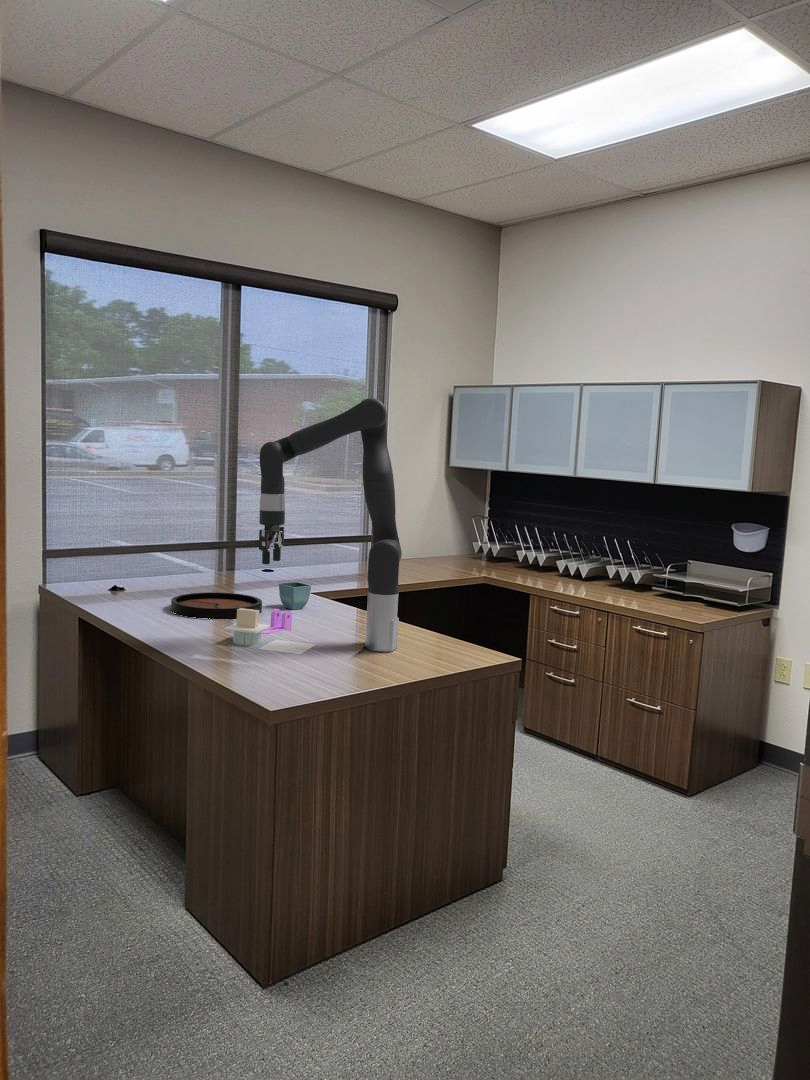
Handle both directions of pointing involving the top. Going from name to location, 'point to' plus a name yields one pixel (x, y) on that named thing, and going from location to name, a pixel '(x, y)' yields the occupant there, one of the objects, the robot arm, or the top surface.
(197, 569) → the top surface
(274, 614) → the bracket
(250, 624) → the cover
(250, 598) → the wall clock
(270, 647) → the mat
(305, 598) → the flower pot
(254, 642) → the cup
